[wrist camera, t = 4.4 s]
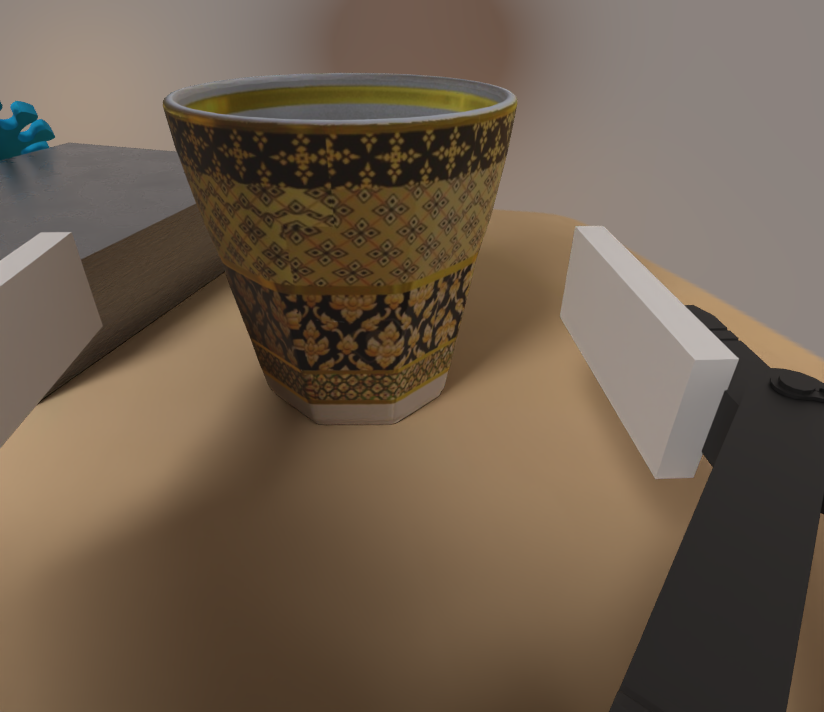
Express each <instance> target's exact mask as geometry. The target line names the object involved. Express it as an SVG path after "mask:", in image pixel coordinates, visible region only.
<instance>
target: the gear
mask: <svg viewBox="0 0 824 712" xmlns="http://www.w3.org/2000/svg"><path fill="white" fill-rule="evenodd" d="M1 109H2V104H1V102H0V110H1ZM11 110H12V112H13V116H12V117H11V118H9V119H4V120H3V119H0V160H4V159H8V158H12V157H16V156H20V155H23V154H27V153H31V152H35V151H39V150H43V149H47V148H49V146H48V144H47V142H46V141H49V140H52V139H54V138H55V135H54V133H53V131H52V130H51V127H50V126H49V125H48V123H47V122H45V121H44V120H42V119H39V120H37V118H38V115H37V113H36V111H35V109H34V107H33V105H30V104H28V103H25V102H21V101H15V102H13V103H12V104H11ZM30 123H32V124H31V126H30V128H29V129H28V130H27V131H25V132H20V131H21V130H22V129H23V128H24V127H25V126H26V125H28V124H30Z"/></svg>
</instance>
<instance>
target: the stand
mask: <svg viewBox="0 0 824 712" xmlns="http://www.w3.org/2000/svg"><path fill="white" fill-rule="evenodd" d="M41 232H72V235H73V238H74V241H75V244H76V247H77V250H78V253H79V256H80V259H81V262H82V265H83V268H84V271H85V274H86V277H87V280H88V283H89V286H90V289H91V292H92V295H93V298H94V301H95V304H96V307H97V310H98V313H99V316H100V319H101V322H102V325H103V326H102V328H101V329H100V330H99V331H98V332H97V334H96V335H95V336H94V337H93V338H92V339H91V341H90V342H89V343H88V344H87V345H86V347H85V348H84V349H83V350H82V351H81V353H80V354H79V355H78V356H77V357H76V359H75V360H74V361H73V362H72V363H71V365H70V366H69V367H68V368H67V369H66V371H65V372H64V373H63V374H62V375H61V376H60V378H59V379H58V380H57V381H56V382H55V384H54V385H53V386H52V387H51V388H50V390H49V391H48V392H47V393H46V394H45V396H44V397H43V398H45V397H46V396H48V395H49V394H50V393H52V392H53V391H55V390H56V389H58V388H59V387H60V386H62V385H63V384H65V383H66V382H68V381H69V380H70V379H72V378H73V377H75V376H76V375H78V374H79V373H80V372H82V371H83V370H85V369H86V368H87V367H89V366H90V365H92V364H93V363H95V362H96V361H97V360H99V359H100V358H102V357H103V356H105V355H106V354H107V353H109V352H110V351H112V350H113V349H115V348H116V347H117V346H119V345H120V344H122V343H123V342H125V341H126V340H127V339H129V338H130V337H132V336H133V335H134V334H136V333H137V332H139V331H140V330H142V329H143V328H144V327H146V326H147V325H149V324H150V323H152V322H153V321H154V320H156V319H157V318H159V317H160V316H162V315H163V314H164V313H166V312H167V311H169V310H170V309H172V308H173V307H174V306H176V305H177V304H179V303H180V302H182V301H183V300H184V299H186V298H187V297H189V296H190V295H191V294H193V293H194V292H196V291H197V290H199V289H200V288H201V287H203V286H204V285H206V284H207V283H209V282H210V281H211V280H213V279H214V278H216V277H217V276H219V275H220V274H221V273H223V272H224V271H225V270H224V267H223V264H222V261H221V259H220V257H219V254H218V252H217V250H216V248H215V246H214V244H213V242H212V240H211V238H210V236H209V233H208V231H207V229H206V226H205V224H204V222H203V219H202V217H201V215H200V212H199V210H198V207H197V205H196V202H195V199H194V197H193V194H192V191H191V189H190V186H189V184H188V181H187V178H186V175H185V173H184V170H183V167H182V164H181V162H180V159H179V156H178V153H177V152H175V151H162V150H151V149H138V148H126V147H114V146H101V145H90V144H78V143H66V144H62V145H59V146H54V147H50V148H47V149H43V150H39V151H35V152H31V153H27V154H23V155H20V156H16V157H12V158H8V159H4V160H0V260H2V259H3V258H5V257H6V256H7V255H9V254H10V253H12V252H13V251H15V250H16V249H18V248H19V247H20V246H22V245H23V244H25V243H26V242H28V241H29V240H31V239H32V238H33V237H35V236H36V235H38V234H39V233H41ZM43 398H42V399H43ZM42 399H41V400H42Z"/></svg>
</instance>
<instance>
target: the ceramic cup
mask: <svg viewBox="0 0 824 712" xmlns="http://www.w3.org/2000/svg"><path fill="white" fill-rule="evenodd" d="M516 107H517V98H516V96H515V95H514V94H513V93H512V92H510V91H509V90H506V89H504V88H502V87H498V86H494V85H490V84H486V83H481V82H476V81H470V80H464V79H455V78H446V77H436V76H435V77H434V76H421V75H407V74H382V73H381V74H378V73H374V74H373V73H372V74H371V73H324V74H323V73H320V74H291V75H274V76H258V77H247V78H238V79H230V80H222V81H214V82H209V83H204V84H199V85H194V86H190V87H185V88H183V89H179V90H177V91H174V92H172V93H170V94H169V95H168V96H167V97H166V98H164V100H163V108H164V111H165V114H166V118H167V121H168V125H169V128H170V131H171V135H172V138H173V141H174V145H175V148H176V151H177V153H178V156H179V159H180V162H181V164H182V167H183V170H184V173H185V175H186V178H187V181H188V184H189V186H190V189H191V191H192V194H193V197H194V199H195V202H196V205H197V207H198V210H199V212H200V215H201V217H202V219H203V222H204V224H205V226H206V229H207V231H208V233H209V236H210V238H211V240H212V242H213V244H214V246H215V248H216V250H217V252H218V254H219V257H220V259H221V261H222V264H223V267H224V270H225V273H226V276H227V279H228V282H229V285H230V288H231V290H232V293H233V295H234V298H235V300H236V303H237V305H238V308H239V310H240V313H241V316H242V318H243V321H244V323H245V326H246V328H247V331H248V333H249V336H250V338H251V341H252V344H253V347H254V350H255V352H256V355H257V358H258V361H259V364H260V366H261V368H262V370H263V373H264V375H265V378H266V380H267V383H268V385H269V387H270V388H271V390H273V391H274V392H275V393H276V394H277V395H278V396H279V397H281V398H282V399H283V400H285V401H286V402H287V403H289V404H290V405H292V406H293V407H294V408H296V409H297V410H298V411H300V412H301V413H303V414H304V415H305V416H307V417H308V418H310V419H311V420H312V421H314V422H315V423H317V424H394V423H397V422H398V421H400V420H402V419H403V418H405V417H406V416H408V415H409V414H411V413H413V412H414V411H416V410H417V409H419V408H421V407H422V406H424V405H425V404H427V403H428V402H430V401H432V400H433V399H435V398H436V397H438V396H439V395H440V393H441V391H442V390H443V388H444V386H445V382H446V378H447V374H448V370H449V367H450V364H451V360H452V355H453V351H454V346H455V341H456V338H457V334H458V330H459V327H460V323H461V319H462V315H463V311H464V307H465V304H466V300H467V296H468V292H469V288H470V284H471V280H472V275H473V271H474V266H475V262H476V258H477V255H478V252H479V249H480V246H481V243H482V240H483V237H484V234H485V232H486V229H487V226H488V223H489V220H490V217H491V213H492V210H493V206H494V202H495V199H496V194H497V191H498V187H499V183H500V179H501V176H502V172H503V168H504V164H505V160H506V156H507V152H508V147H509V142H510V137H511V133H512V128H513V123H514V118H515V112H516Z"/></svg>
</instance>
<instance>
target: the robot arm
mask: <svg viewBox="0 0 824 712" xmlns="http://www.w3.org/2000/svg"><path fill="white" fill-rule="evenodd" d="M560 318H561V320H562V321H563V323H564V325H565V326H566V328H567V330H568V332H569V333H570V335H571V337H572V338H573V340H574V342H575V343H576V345H577V347H578V349H579V350H580V352H581V354H582V355H583V357H584V359H585V360H586V362H587V364H588V366H589V367H590V369H591V371H592V372H593V374H594V376H595V377H596V379H597V381H598V383H599V384H600V386H601V388H602V389H603V391H604V393H605V394H606V396H607V398H608V400H609V401H610V403H611V405H612V406H613V408H614V410H615V411H616V413H617V415H618V417H619V418H620V420H621V422H622V423H623V425H624V427H625V428H626V430H627V432H628V434H629V435H630V437H631V439H632V440H633V442H634V444H635V445H636V447H637V449H638V451H639V452H640V454H641V456H642V457H643V459H644V461H645V462H646V464H647V466H648V468H649V469H650V471H651V473H652V474H653V476H654V478H655V479H672V478H694V475H695V473H696V470H697V467H698V465H699V462H700V460H701V457H702V454H704V456H705V457H706V459H707V460H708V461H709V463H710V464H711V465H712V467H713V469H712V471H711V474H710V476H709V478H708V481H707V483H706V485H705V488H704V490H703V493H702V495H701V497H700V500H699V502H698V504H697V507H696V509H695V511H694V514H693V516H692V519H691V521H690V523H689V526H688V528H687V530H686V533H685V535H684V538H683V540H682V542H681V545H680V547H679V549H678V552H677V554H676V556H675V559H674V561H673V564H672V566H671V568H670V571H669V573H668V575H667V578H666V580H665V582H664V585H663V587H662V590H661V592H660V594H659V597H658V599H657V601H656V604H655V606H654V608H653V611H652V613H651V616H650V618H649V620H648V623H647V625H646V627H645V630H644V632H643V635H642V637H641V639H640V642H639V644H638V646H637V649H636V651H635V653H634V656H633V658H632V661H631V663H630V665H629V668H628V670H627V672H626V675H625V677H624V679H623V682H622V684H621V686H620V689H619V690H618V692H617V694H616V697H615V699H614V701H613V704H612V706H611V708H610V711H609V712H786V709H787V703H788V698H789V692H790V686H791V680H792V675H793V669H794V663H795V657H796V651H797V646H798V640H799V634H800V628H801V622H802V617H803V611H804V605H805V599H806V593H807V588H808V582H809V576H810V570H811V565H812V559H813V553H814V547H815V541H816V536H817V530H818V524H819V518H820V513H822V514H824V383H822V382H820V381H819V380H817V379H815V378H813V377H810V376H808V375H805V374H803V373H800V372H796V371H791V370H787V369H779V368H770V367H769V366H768V365H767V364H766V363H764V362H763V361H762V360H761V359H760V358H759V357H758V356H757V355H756V354H755V353H754V352H753V351H752V350H750V349H749V348H748V347H747V346H746V345H745V344H744V343H743V342H742V341H738V338H737V337H736V336H735V335H734V334H733V333H732V332H731V331H727V327H726V326H725V325H723V324H722V323H721V322H720V321H719V320H718V319H717V318H716V317H715V316H713V315H712V314H710V313H708V312H706V311H704V310H702V309H700V308H698V307H696V306H694V305H683V304H682V303H681V302H680V301H679V300H678V299H677V298H676V297H675V296H674V295H673V294H672V293H671V292H670V291H669V290H668V289H667V288H666V287H665V286H664V285H663V284H662V283H661V282H660V281H659V280H658V279H657V278H656V277H655V276H654V275H653V274H652V273H651V272H650V271H649V270H648V269H647V268H646V267H645V266H644V265H643V264H642V263H641V262H640V261H639V260H638V259H637V258H636V257H634V256H633V255H632V254H631V253H630V252H629V251H628V250H627V249H626V248H625V247H624V246H623V245H622V244H621V243H620V242H619V241H618V240H617V239H616V238H615V237H614V236H613V235H612V234H611V233H610V232H609V231H608V230H607V229H606V228H605V227H604V226H575V230H574V236H573V242H572V248H571V254H570V259H569V265H568V271H567V277H566V283H565V289H564V295H563V301H562V307H561V312H560ZM102 326H103V325H102V322H101V319H100V316H99V313H98V310H97V307H96V304H95V301H94V298H93V295H92V292H91V289H90V286H89V283H88V280H87V277H86V274H85V271H84V268H83V265H82V262H81V259H80V256H79V253H78V250H77V247H76V244H75V241H74V238H73V235H72V232H41V233H39V234H38V235H36V236H35V237H33V238H32V239H31V240H29V241H28V242H26V243H25V244H23V245H22V246H20V247H19V248H18V249H16V250H15V251H13V252H12V253H10V254H9V255H7V256H6V257H5V258H3V259H2V260H0V448H1V447H2V446H3V445H4V443H5V442H6V441H7V440H8V439H9V437H10V436H11V435H12V434H13V433H14V431H15V430H16V429H17V428H18V427H19V425H20V424H21V423H22V422H23V421H24V419H25V418H26V417H27V416H28V415H29V414H30V412H31V411H32V410H33V409H34V408H35V406H36V405H37V404H38V403H39V402H40V400H41V399H42V398H43V397H44V396H45V394H46V393H47V392H48V391H49V390H50V388H51V387H52V386H53V385H54V384H55V382H56V381H57V380H58V379H59V378H60V376H61V375H62V374H63V373H64V372H65V371H66V369H67V368H68V367H69V366H70V365H71V363H72V362H73V361H74V360H75V359H76V357H77V356H78V355H79V354H80V353H81V351H82V350H83V349H84V348H85V347H86V345H87V344H88V343H89V342H90V341H91V339H92V338H93V337H94V336H95V335H96V334H97V332H98V331H99V330H100V329H101V328H102Z"/></svg>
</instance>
